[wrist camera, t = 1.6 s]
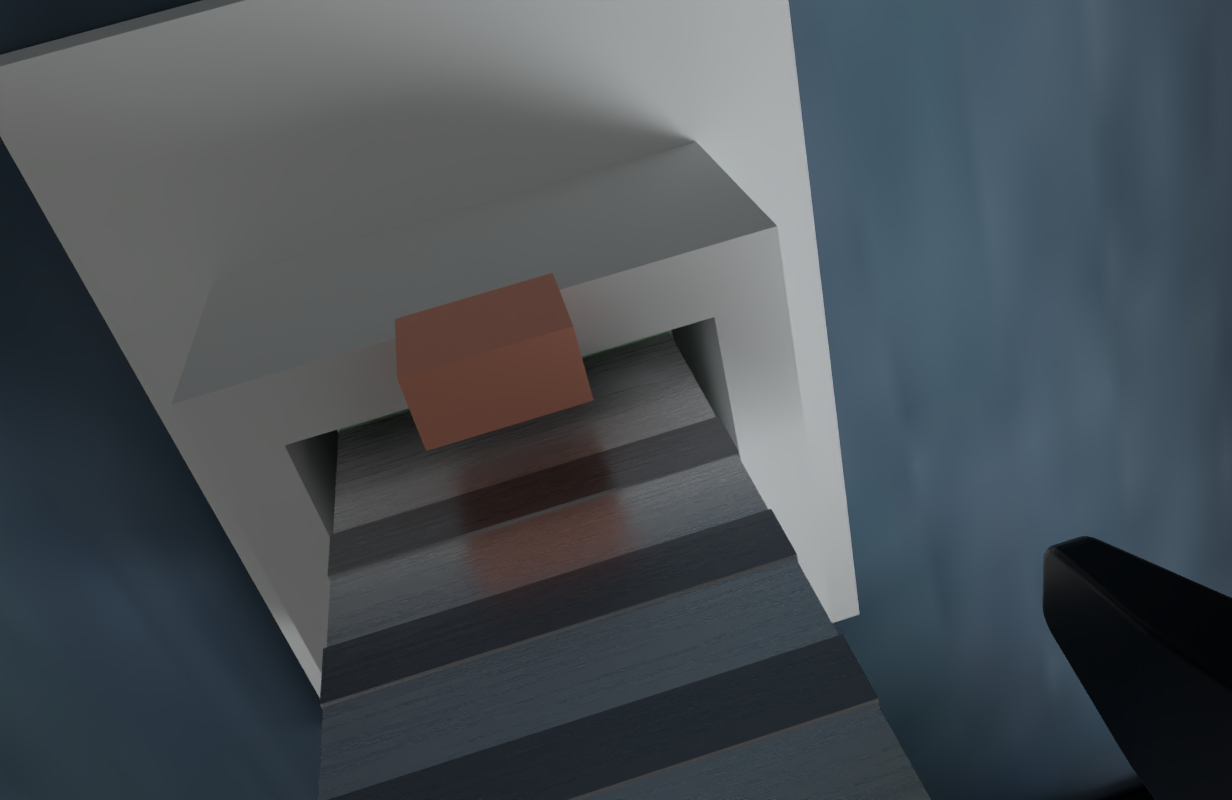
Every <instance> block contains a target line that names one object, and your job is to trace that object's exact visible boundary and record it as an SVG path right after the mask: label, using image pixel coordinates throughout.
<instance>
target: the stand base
mask: <svg viewBox="0 0 1232 800" xmlns="http://www.w3.org/2000/svg"><path fill="white" fill-rule="evenodd" d="M0 137H1V139H2V140H3V142H4V144H5V146H6V147H7V149H8V151H9V153H10V154H11V156H12V158H13V160H14V162H15V163H16V165H17V167H18V169H19V170H20V172H21V174H22V176H23V177H24V179H25V181H26V183H27V184H28V186H29V188H30V190H31V191H32V193H33V195H34V197H35V198H36V200H37V202H38V204H39V205H40V207H41V209H42V211H43V212H44V214H45V216H46V218H47V220H48V221H49V223H50V225H51V227H52V228H53V230H54V232H55V234H56V235H57V237H58V239H59V241H60V242H61V244H62V246H63V248H64V249H65V251H66V253H67V255H68V256H69V258H70V260H71V262H72V263H73V265H74V267H75V269H76V270H77V272H78V274H79V276H80V278H81V279H82V281H83V283H84V285H85V286H86V288H87V290H88V292H89V293H90V295H91V297H92V299H93V300H94V302H95V304H96V306H97V307H98V309H99V311H100V313H101V314H102V316H103V318H104V320H105V321H106V323H107V325H108V327H109V328H110V330H111V332H112V334H113V336H114V337H115V339H116V341H117V343H118V344H119V346H120V348H121V350H122V351H123V353H124V355H125V357H126V358H127V360H128V362H129V364H130V365H131V367H132V369H133V371H134V372H135V374H136V376H137V378H138V379H139V381H140V383H141V385H142V386H143V388H144V390H145V392H146V394H147V395H148V397H149V399H150V401H151V402H152V404H153V406H154V408H155V409H156V411H157V413H158V415H159V416H160V418H161V420H162V422H163V423H164V425H165V427H166V429H167V430H168V432H169V434H170V436H171V437H172V439H173V441H174V443H175V444H176V446H177V448H178V450H179V452H180V453H181V455H182V457H183V459H184V460H185V462H186V464H187V466H188V467H189V469H190V471H191V473H192V474H193V476H194V478H195V480H196V481H197V483H198V485H199V487H200V488H201V490H202V492H203V494H204V495H205V497H206V499H207V501H208V502H209V504H210V506H211V508H212V510H213V511H214V513H215V515H216V517H217V518H218V520H219V522H220V524H221V525H222V527H223V529H224V531H225V532H226V534H227V536H228V538H229V539H230V541H231V543H232V545H233V546H234V548H235V550H236V552H237V553H238V555H239V557H240V559H241V560H242V562H243V564H244V566H245V568H246V569H247V571H248V573H249V575H250V576H251V578H252V580H253V582H254V583H255V585H256V587H257V589H258V590H259V592H260V594H261V596H262V597H263V599H264V601H265V603H266V604H267V606H268V608H269V610H270V611H271V613H272V615H273V617H274V618H275V620H276V622H277V624H278V626H279V627H280V629H281V631H282V633H283V634H284V636H285V638H286V640H287V641H288V643H289V645H290V647H291V648H292V650H293V652H294V654H295V655H296V657H297V659H298V661H299V662H300V664H301V666H302V668H303V669H304V671H305V673H306V675H307V676H308V678H309V680H310V682H311V684H312V685H313V687H314V689H315V691H316V692H317V694H318V696H319V698H320V692H321V675H322V659H323V648H326V647H327V631H328V614H329V596H330V580H329V578H328V561H329V544H330V535H331V534H333V526H334V509H335V491H336V474H337V456H338V439H339V433H338V429H341V428H344V427H348V426H351V425H355V424H358V423H361V422H365V421H368V420H371V419H375V418H378V417H381V416H385V415H388V414H391V413H395V412H398V411H401V410H405V409H408V408H409V410H410V412H411V415H412V417H413V420H414V422H415V425H416V427H417V430H418V432H419V435H420V437H421V440H422V442H423V445H424V447H425V450H426V451H428V450H431V449H435V448H438V447H441V446H445V445H448V444H451V443H455V442H458V441H461V440H465V439H468V438H471V437H475V436H478V435H481V434H485V433H488V432H491V431H494V430H498V429H501V428H504V427H508V426H511V425H514V424H518V423H521V422H524V421H528V420H531V419H534V418H538V417H541V416H544V415H547V414H551V413H554V412H557V411H561V410H564V409H567V408H571V407H574V406H577V405H581V404H584V403H587V402H591V401H594V399H593V396H592V392H591V389H590V385H589V381H588V378H587V374H586V370H585V367H584V363H583V360H582V356H586V355H589V354H592V353H596V352H599V351H602V350H606V349H609V348H612V347H616V346H619V345H622V344H626V343H629V342H632V341H636V340H639V339H642V338H646V337H649V336H653V335H656V334H659V333H663V332H666V331H669V330H670V333H671V337H672V339H673V340H674V342H675V344H676V346H677V347H678V349H679V351H680V353H681V355H682V356H683V358H684V360H685V362H686V364H687V365H688V367H689V369H690V371H691V372H692V374H693V376H694V378H695V380H696V381H697V383H698V385H699V387H700V388H701V390H702V392H703V394H704V396H705V397H706V399H707V401H708V403H709V405H710V406H711V408H712V410H713V412H714V413H715V415H716V417H718V416H719V417H720V419H721V421H722V422H723V424H724V426H725V428H726V430H727V431H728V433H729V435H730V437H731V438H732V440H733V442H734V444H735V445H736V447H737V449H738V452H739V458H740V460H741V462H742V463H743V465H744V467H745V469H746V471H747V472H748V474H749V476H750V478H751V479H752V481H753V483H754V485H755V487H756V488H757V490H758V492H759V494H760V495H761V497H762V499H763V501H764V503H765V504H766V506H767V508H768V510H769V509H772V511H773V513H774V514H775V516H776V518H777V520H778V521H779V523H780V525H781V527H782V529H783V530H784V532H785V534H786V536H787V537H788V539H789V541H790V543H791V544H792V546H793V548H794V550H795V552H796V553H797V558H798V563H799V565H800V567H801V569H802V570H803V572H804V574H805V576H806V578H807V579H808V581H809V583H810V585H811V586H812V588H813V590H814V592H815V594H816V595H817V597H818V599H819V601H820V603H821V604H822V606H823V608H824V610H825V611H826V613H827V615H828V617H829V619H830V620H831V622H832V623H834V622H837V621H840V620H843V619H847V618H850V617H853V616H856V615H859V605H858V597H857V588H856V580H855V571H854V562H853V554H852V545H851V536H850V528H849V519H848V511H847V502H846V493H845V485H844V476H843V468H842V459H841V450H840V442H839V433H838V424H837V416H836V407H835V399H834V390H833V381H832V373H831V364H830V356H829V347H828V338H827V330H826V321H825V313H824V304H823V295H822V287H821V278H820V269H819V261H818V252H817V244H816V235H815V226H814V218H813V209H812V201H811V192H810V183H809V175H808V166H807V158H806V149H805V140H804V132H803V123H802V114H801V106H800V97H799V89H798V80H797V71H796V63H795V54H794V46H793V37H792V28H791V20H790V11H789V3H788V0H202V1H198V2H194V3H190V4H187V5H183V6H179V7H176V8H172V9H168V10H164V11H161V12H157V13H153V14H150V15H146V16H142V17H139V18H135V19H131V20H127V21H124V22H120V23H116V24H113V25H109V26H105V27H101V28H98V29H94V30H90V31H87V32H83V33H79V34H76V35H72V36H68V37H64V38H61V39H57V40H53V41H50V42H46V43H42V44H38V45H35V46H31V47H27V48H24V49H20V50H16V51H13V52H9V53H5V54H1V55H0Z"/></svg>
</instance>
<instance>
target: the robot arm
mask: <svg viewBox="0 0 1232 800" xmlns="http://www.w3.org/2000/svg"><path fill="white" fill-rule="evenodd" d="M1043 613H1044V617H1045V620H1046V623H1047V625H1048V627H1049V629H1050V631H1051V633H1052V635H1053V637H1054V638H1055V640H1056V642H1057V643H1058V645H1059V647H1060V648H1061V650H1062V652H1063V653H1064V655H1065V657H1066V658H1067V660H1068V662H1069V663H1070V665H1071V667H1072V668H1073V670H1074V672H1075V674H1076V675H1077V677H1078V679H1079V680H1080V682H1081V684H1082V685H1083V687H1084V689H1085V690H1086V692H1087V694H1088V695H1089V697H1090V699H1091V700H1092V702H1093V704H1094V705H1095V707H1096V709H1097V710H1098V712H1099V714H1100V716H1101V717H1102V719H1103V721H1104V722H1105V724H1106V726H1107V727H1108V729H1109V731H1110V732H1111V734H1112V736H1113V737H1114V739H1115V741H1116V742H1117V744H1118V746H1119V747H1120V749H1121V751H1122V752H1123V754H1124V755H1125V757H1126V758H1127V760H1128V762H1129V763H1130V765H1131V766H1132V768H1133V769H1134V771H1135V772H1136V774H1137V775H1138V776H1139V778H1140V779H1141V781H1142V782H1143V784H1144V785H1145V786H1146V788H1147V789H1148V791H1145V792H1142V793H1139V794H1136V795H1133V796H1130V797H1128V798H1125V799H1122V800H1232V598H1230V597H1228V596H1226V595H1224V594H1221V593H1219V592H1217V591H1215V590H1212V589H1210V588H1208V587H1205V586H1203V585H1201V584H1199V583H1196V582H1194V581H1192V580H1189V579H1187V578H1185V577H1183V576H1180V575H1178V574H1176V573H1174V572H1171V571H1169V570H1167V569H1164V568H1162V567H1160V566H1158V565H1155V564H1153V563H1151V562H1148V561H1146V560H1144V559H1142V558H1139V557H1137V556H1135V555H1133V554H1130V553H1128V552H1126V551H1123V550H1121V549H1119V548H1117V547H1114V546H1112V545H1110V544H1107V543H1105V542H1103V541H1101V540H1098V539H1096V538H1093V537H1088V536H1082V537H1078V538H1075V539H1071V540H1068V541H1065V542H1062V543H1059V544H1056V545H1053V546H1051V547H1049V548H1048V549H1047V550H1046V552H1045V554H1044V560H1043Z"/></svg>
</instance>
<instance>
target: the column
mask: <svg viewBox="0 0 1232 800" xmlns="http://www.w3.org/2000/svg"><path fill="white" fill-rule="evenodd" d="M582 360H583V363H584V367H585V370H586V374H587V378H588V381H589V385H590V389H591V392H592V396H593V399H594V401H591V402H587V403H584V404H581V405H577V406H574V407H571V408H567V409H564V410H561V411H557V412H554V413H551V414H547V415H544V416H541V417H538V418H534V419H531V420H528V421H524V422H521V423H518V424H514V425H511V426H508V427H504V428H501V429H498V430H494V431H491V432H488V433H485V434H481V435H478V436H475V437H471V438H468V439H465V440H461V441H458V442H455V443H451V444H448V445H445V446H441V447H438V448H435V449H431V450H428V451H426V450H425V447H424V445H423V442H422V440H421V437H420V435H419V432H418V430H417V427H416V425H415V422H414V420H413V417H412V415H411V412H410V410H409V408H408V409H405V410H401V411H398V412H395V413H391V414H388V415H385V416H381V417H378V418H375V419H371V420H368V421H365V422H361V423H358V424H355V425H351V426H348V427H344V428H341V429H338V433H339V439H338V456H337V474H336V491H335V509H334V526H333V534H331V535H330V544H329V561H328V578H329V580H330V596H329V614H328V631H327V647H326V648H323V659H322V675H321V692H320V706H321V708H322V709H323V719H322V736H321V754H320V771H319V789H318V800H931V799H930V797H929V795H928V793H927V792H926V790H925V788H924V786H923V784H922V783H921V781H920V779H919V777H918V776H917V774H916V772H915V770H914V768H913V767H912V765H911V763H910V761H909V759H908V758H907V756H906V754H905V752H904V751H903V749H902V747H901V745H900V743H899V742H898V740H897V738H896V736H895V735H894V733H893V731H892V729H891V727H890V726H889V724H888V722H887V720H886V718H885V717H884V715H883V713H882V711H881V710H880V708H879V699H878V697H877V695H876V693H875V691H874V689H873V688H872V686H871V684H870V682H869V681H868V679H867V677H866V675H865V674H864V672H863V670H862V668H861V667H860V665H859V663H858V661H857V659H856V658H855V656H854V654H853V652H852V651H851V649H850V647H849V645H848V644H847V642H846V640H845V638H844V636H843V635H838V633H837V631H836V629H835V627H834V626H833V624H832V622H831V620H830V619H829V617H828V615H827V613H826V611H825V610H824V608H823V606H822V604H821V603H820V601H819V599H818V597H817V595H816V594H815V592H814V590H813V588H812V586H811V585H810V583H809V581H808V579H807V578H806V576H805V574H804V572H803V570H802V569H801V567H800V565H799V563H798V558H797V553H796V552H795V550H794V548H793V546H792V544H791V543H790V541H789V539H788V537H787V536H786V534H785V532H784V530H783V529H782V527H781V525H780V523H779V521H778V520H777V518H776V516H775V514H774V513H773V511H772V509H769V510H768V508H767V506H766V504H765V503H764V501H763V499H762V497H761V495H760V494H759V492H758V490H757V488H756V487H755V485H754V483H753V481H752V479H751V478H750V476H749V474H748V472H747V471H746V469H745V467H744V465H743V463H742V462H741V460H740V458H739V452H738V449H737V447H736V445H735V444H734V442H733V440H732V438H731V437H730V435H729V433H728V431H727V430H726V428H725V426H724V424H723V422H722V421H721V419H720V417H719V416H718V417H716V415H715V413H714V412H713V410H712V408H711V406H710V405H709V403H708V401H707V399H706V397H705V396H704V394H703V392H702V390H701V388H700V387H699V385H698V383H697V381H696V380H695V378H694V376H693V374H692V372H691V371H690V369H689V367H688V365H687V364H686V362H685V360H684V358H683V356H682V355H681V353H680V351H679V349H678V347H677V346H676V344H675V342H674V340H673V339H672V337H671V333H670V330H669V331H666V332H663V333H659V334H656V335H653V336H649V337H646V338H642V339H639V340H636V341H632V342H629V343H626V344H622V345H619V346H616V347H612V348H609V349H606V350H602V351H599V352H596V353H592V354H589V355H586V356H582Z"/></svg>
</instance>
